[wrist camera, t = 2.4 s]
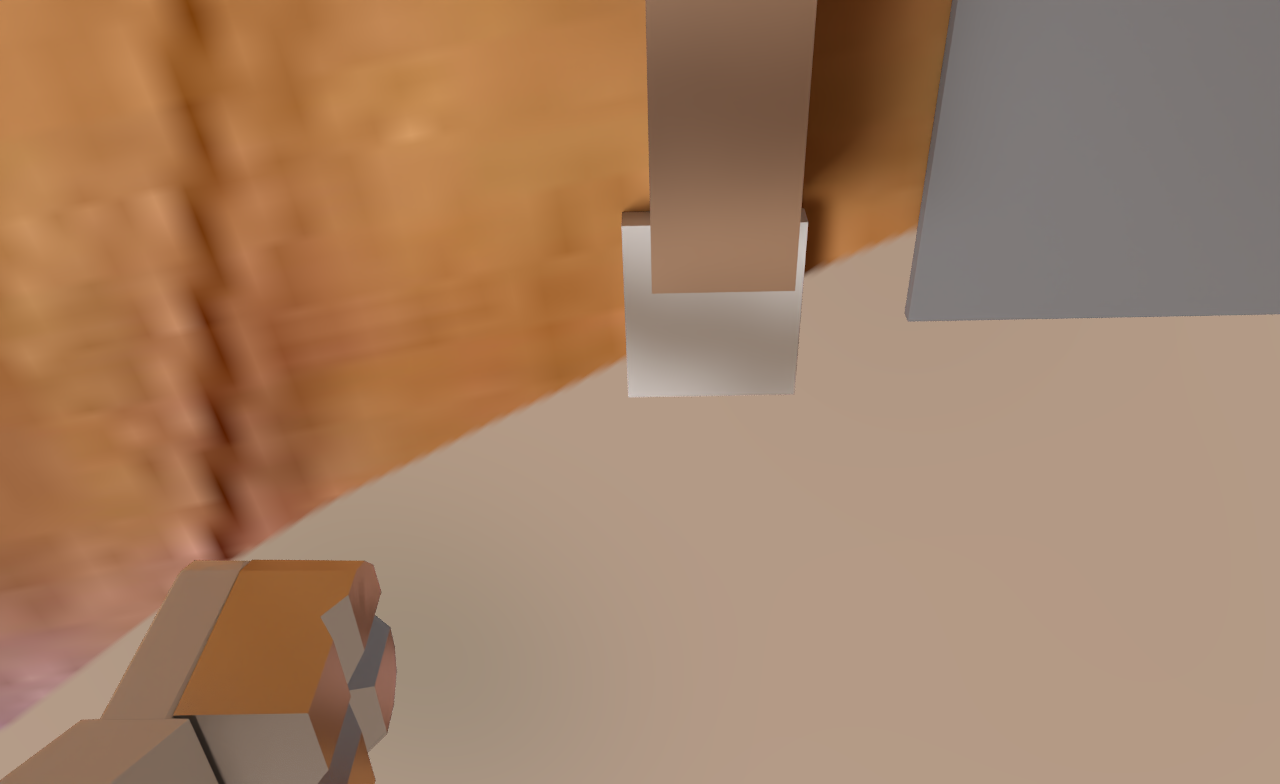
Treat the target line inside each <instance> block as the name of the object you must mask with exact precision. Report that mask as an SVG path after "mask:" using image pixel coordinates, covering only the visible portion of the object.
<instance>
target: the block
mask: <svg viewBox="0 0 1280 784" xmlns="http://www.w3.org/2000/svg"><path fill="white" fill-rule="evenodd" d="M816 9H817V0H646V39H647V87H648V135H649V183H650V211H647V212H622V249H623V275H624V300H625V325H626V351H627V376H628V397H673V396H674V397H675V396H727V395H728V396H732V395H790V394H794V393H795V380H796V368H797V356H798V344H799V331H800V319H801V306H802V293H803V282H804V270H805V257H806V245H807V233H808V220H807V216H806V213H805V209H804V208H801V207H802V193H803V180H804V167H805V154H806V141H807V128H808V114H809V101H810V88H811V75H812V62H813V49H814V35H815V22H816Z"/></svg>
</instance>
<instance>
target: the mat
mask: <svg viewBox="0 0 1280 784" xmlns="http://www.w3.org/2000/svg"><path fill="white" fill-rule="evenodd" d="M1262 314H1280V0H952V6H951V12H950V19H949V25H948V32H947V38H946V45H945V52H944V58H943V65H942V71H941V78H940V84H939V91H938V98H937V104H936V111H935V117H934V124H933V130H932V137H931V143H930V150H929V157H928V163H927V170H926V176H925V183H924V189H923V196H922V202H921V209H920V216H919V222H918V229H917V235H916V242H915V249H914V255H913V262H912V268H911V275H910V282H909V288H908V294H907V301H906V307H905V315H906V318H907V320H908V321H957V320H1003V319H1004V320H1006V319H1058V318H1107V317H1108V318H1109V317H1155V316H1157V317H1158V316H1160V317H1161V316H1212V315H1262Z"/></svg>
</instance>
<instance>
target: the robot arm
mask: <svg viewBox="0 0 1280 784" xmlns="http://www.w3.org/2000/svg"><path fill="white" fill-rule="evenodd" d="M380 595H381V589H380V585H379V582H378V579H377V575H376V572H375V569H374V565H373V564H371V563H368V562H366V561H329V560H328V561H327V560H326V561H325V560H321V561H320V560H252V561H210V560H194V561H193V562H192V563H191V564H189V565H188V566H187V567H185V568H184V569H183V570H182V571H181V572H180V573H179V574H178V575H177V577H176V579H175V581H174V583H173V585H172V587H171V588H170V590H169V592H168V594H167V596H166V598H165V600H164V601H163V603H162V605H161V607H160V609H159V611H158V612H157V614H156V616H155V618H154V620H153V622H152V624H151V625H150V627H149V629H148V631H147V633H146V635H145V637H144V639H143V640H142V642H141V644H140V646H139V648H138V650H137V651H136V653H135V655H134V657H133V659H132V661H131V663H130V665H129V666H128V668H127V670H126V672H125V674H124V675H123V677H122V679H121V681H120V683H119V685H118V687H117V689H116V690H115V692H114V694H113V696H112V698H111V700H110V701H109V704H108V705H107V707H106V709H105V711H104V713H103V714H102V716H101V718H100V719H92V720H80V721H79V722H78V723H76V724H75V725H74V726H72V727H71V728H70V729H68V730H67V731H66V732H64V733H63V734H62V735H60V736H59V737H58V738H56V739H55V740H54V741H52V742H51V743H50V744H48V745H47V746H46V747H44V748H43V749H42V750H40V751H39V752H37V753H36V754H35V755H33V756H32V757H31V758H29V759H28V760H27V761H25V762H24V763H23V764H21V765H20V766H19V767H17V768H16V769H15V770H13V771H12V772H11V773H9V774H8V775H7V776H5V777H4V778H2V779H1V780H0V784H375V781H376V780H375V776H374V773H373V769H372V766H371V763H370V759H369V755H368V752H369V751H370V750H371V749H372V748H373V747H374V746H375V745H376V744H377V743H378V742H379V741H380V740H381V739H382V738H384V737H385V736H386V735H387V733H388V728H389V724H390V720H391V716H392V711H393V707H394V699H395V687H396V675H397V667H396V656H395V645H394V641H393V637H392V632H391V628H390V627H389V626H388V625H387V624H386V623H384V622H383V621H382V620H381V619H379V618H378V617H377V616H375V612H376V609H377V605H378V602H379V598H380Z"/></svg>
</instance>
